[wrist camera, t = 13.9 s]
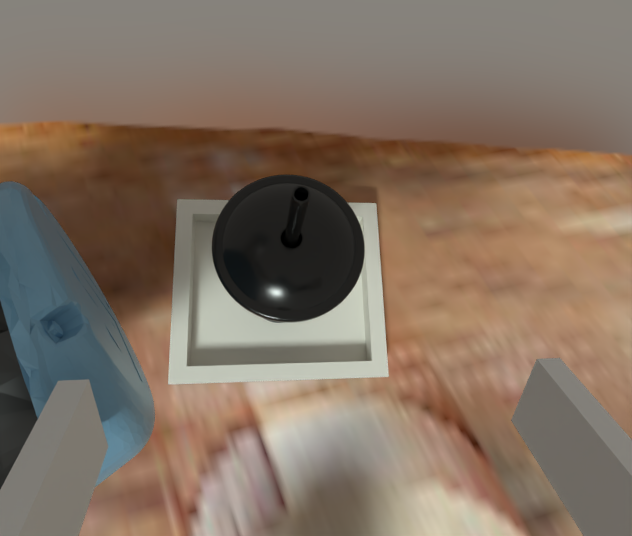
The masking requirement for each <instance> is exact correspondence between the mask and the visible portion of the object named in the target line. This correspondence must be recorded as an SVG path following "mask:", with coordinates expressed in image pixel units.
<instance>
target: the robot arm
mask: <svg viewBox="0 0 632 536" xmlns="http://www.w3.org/2000/svg"><path fill="white" fill-rule="evenodd" d="M154 421H155V410H154V401H153V397H152V394H151V391H150V388H149V385H148V383H147V380H146V378H145V375H144V373H143V370H142V368H141V366H140V363H139V361H138V359H137V357H136V355H135V353H134V351H133V349H132V347H131V344H130V342H129V340H128V339H127V337H126V335H125V333H124V331H123V329H122V327H121V325H120V323H119V321H118V320H117V318H116V316H115V314H114V312H113V310H112V308H111V307H110V305H109V303H108V301H107V300H106V298H105V296H104V294H103V292H102V291H101V289H100V287H99V286H98V284H97V282H96V280H95V279H94V277H93V275H92V274H91V272H90V270H89V269H88V267H87V266H86V264H85V262H84V261H83V259H82V257H81V256H80V254H79V253H78V251H77V250H76V248H75V246H74V245H73V243H72V242H71V240H70V239H69V237H68V236H67V234H66V233H65V231H64V230H63V229H62V227H61V226H60V224H59V223H58V222H57V220H56V219H55V217H54V216H53V215H52V213H51V212H50V211H49V210H48V208H47V207H46V206H45V205H44V203H43V202H42V201H41V200H39V199H38V198H37V197H36V196H34V195H33V194H32V192H31V191H30V190H29V189H28V188H27V187H26V186H24V185H22V184H20V183H18V182H13V181H10V182H3V183H0V536H79V533H80V530H81V527H82V524H83V521H84V518H85V515H86V512H87V509H88V506H89V503H90V500H91V497H92V494H93V491H94V488H95V487H96V486H97V485H99V484H100V483H101V482H102V481H104V480H105V479H106V478H108V477H109V476H110V475H111V474H113V473H114V472H115V471H116V470H118V469H119V468H120V467H122V466H123V465H124V464H125V463H127V462H128V461H129V460H131V459H132V458H133V457H134V456H136V455H137V454H138V453H139V452H140V451H141V450H142V449H143V447H144V446H145V445H146V443H147V442H148V440H149V438H150V436H151V434H152V431H153V427H154ZM511 421H512V422H513V424H514V426H515V427H516V429H517V430H518V432H519V434H520V435H521V437H522V438H523V440H524V442H525V443H526V445H527V446H528V448H529V450H530V451H531V453H532V454H533V456H534V458H535V459H536V461H537V462H538V464H539V465H540V467H541V469H542V470H543V472H544V473H545V475H546V477H547V478H548V480H549V481H550V483H551V485H552V486H553V488H554V489H555V491H556V493H557V494H558V496H559V497H560V499H561V501H562V502H563V504H564V505H565V507H566V509H567V510H568V512H569V513H570V515H571V517H572V518H573V520H574V521H575V523H576V525H577V526H578V528H579V529H580V531H581V532H582V534H583V536H632V440H631V438H630V437H629V436H628V435H627V434H626V433H625V432H624V431H623V429H622V428H621V427H620V426H619V425H618V424H617V423H616V421H615V420H614V419H613V418H612V417H611V416H610V415H609V413H608V412H607V411H606V410H605V409H604V408H603V407H602V405H601V404H600V403H599V402H598V401H597V400H596V399H595V398H594V396H593V395H592V394H591V393H590V392H589V391H588V390H587V388H586V387H585V386H584V385H583V384H582V383H581V382H580V380H579V379H578V378H577V377H576V376H575V375H574V374H573V373H572V371H571V370H570V369H569V368H568V367H567V366H566V365H565V363H564V362H563V361H562V360H561V359H560V358H548V359H537V360H536V362H535V365H534V367H533V369H532V372H531V374H530V377H529V379H528V381H527V384H526V386H525V388H524V391H523V393H522V396H521V398H520V400H519V403H518V405H517V408H516V410H515V412H514V415H513V417H512V420H511Z"/></svg>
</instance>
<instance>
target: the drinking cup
mask: <svg viewBox="0 0 632 536" xmlns="http://www.w3.org/2000/svg"><path fill="white" fill-rule="evenodd" d="M364 255H365V244H364V237H363V232H362V229H361V226H360V223H359V221H358V219H357V217H356V215H355V213H354V211H353V210H352V208H351V207H350V206H349V204H348V203H347V202H346V201H345V200H344V199H343V198H342V197H341V196H340V195H339V194H338V193H337V192H335V191H334V190H333V189H331V188H330V187H328V186H327V185H325V184H323V183H321V182H319V181H316V180H314V179H311V178H308V177H303V176H297V175H276V176H270V177H266V178H263V179H260V180H257V181H255V182H253V183H251V184H249V185H247V186H245V187H244V188H243V189H241V190H240V191H238V192H237V193H236V194H235V195H234V196H233V197H232V198H231V199H230V200H229V201H228V202H227V204H226V205H225V206H224V208H223V209H222V211H221V213H220V215H219V217H218V219H217V221H216V224H215V227H214V231H213V237H212V257H213V263H214V267H215V270H216V273H217V275H218V278H219V280H220V281H221V283H222V285H223V287H224V288H225V290H226V291H227V292H228V294H229V295H230V296H231V297H232V298H233V299H234V300H235V301H236V302H237V303H238V304H239V305H240V306H242V307H243V308H244V309H246V310H247V311H249V312H251V313H253V314H255V315H257V316H259V317H261V318H264V319H266V320H268V321H271V322H275V323H284V322H285V323H294V322H303V321H308V320H311V319H314V318H317V317H319V316H322V315H324V314H326V313H328V312H329V311H331V310H332V309H334V308H335V307H337V306H338V305H339V304H340V303H341V302H342V301H343V300H344V299H345V298H346V297H347V296H348V295H349V294H350V292H351V291H352V290H353V288H354V286H355V285H356V283H357V281H358V279H359V276H360V274H361V271H362V267H363V263H364Z"/></svg>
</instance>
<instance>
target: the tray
mask: <svg viewBox="0 0 632 536" xmlns="http://www.w3.org/2000/svg"><path fill="white" fill-rule="evenodd" d="M228 201H229V200H197V199H177V214H176V235H175V255H174V276H173V296H172V316H171V337H170V357H169V378H168V384H195V383H224V382H253V381H281V380H310V379H339V378H368V377H389V375H388V361H387V347H386V333H385V319H384V305H383V291H382V276H381V262H380V248H379V234H378V220H377V206H376V203H348V204H349V206H350V207H351V208H352V210H353V211H354V213H355V215H356V217H357V219H358V221H359V223H360V226H361V229H362V232H363V237H364V244H365V255H364V263H363V267H362V271H361V274H360V276H359V279H358V281H357V283H356V285H355V286H354V288H353V290H352V291H351V292H350V294H349V295H348V296H347V297H346V298H345V299H344V300H343V301H342V302H341V303H340V304H339V305H338V306H337V307H335V308H334V309H332V310H331V311H329V312H328V313H326V314H324V315H322V316H319V317H317V318H314V319H311V320H308V321H303V322H294V323H285V322H284V323H275V322H271V321H268V320H266V319H264V318H261V317H259V316H257V315H255V314H253V313H251V312H249V311H247V310H246V309H244V308H243V307H242V306H240V305H239V304H238V303H237V302H236V301H235V300H234V299H233V298H232V297H231V296H230V295H229V294H228V292H227V291H226V290H225V288H224V287H223V285H222V283H221V281H220V280H219V278H218V275H217V273H216V270H215V267H214V263H213V257H212V237H213V231H214V227H215V224H216V221H217V219H218V217H219V215H220V213H221V211H222V209H223V208H224V206H225V205H226V204H227V202H228Z"/></svg>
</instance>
